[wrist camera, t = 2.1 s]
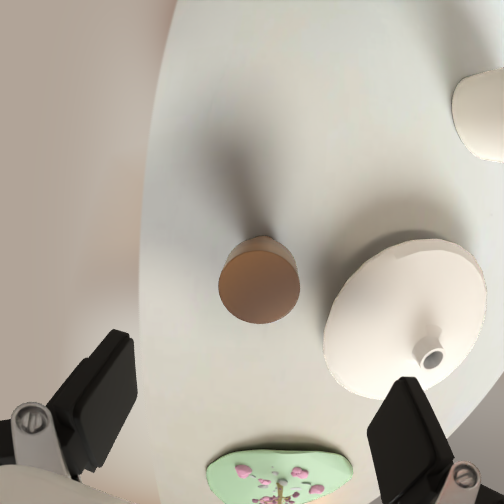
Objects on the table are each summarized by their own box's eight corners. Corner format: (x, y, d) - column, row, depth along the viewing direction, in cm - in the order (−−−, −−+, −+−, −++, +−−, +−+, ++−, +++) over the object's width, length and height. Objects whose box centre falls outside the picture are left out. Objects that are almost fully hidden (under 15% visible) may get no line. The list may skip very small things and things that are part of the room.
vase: (363, 199, 22) (397, 220, 15) (493, 261, 23) (537, 291, 16) (291, 361, 27) (294, 417, 20) (420, 387, 28) (441, 432, 21)
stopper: (221, 242, 24) (201, 278, 17) (270, 209, 23) (269, 234, 16) (256, 287, 25) (249, 336, 18) (304, 257, 24) (315, 299, 17)
